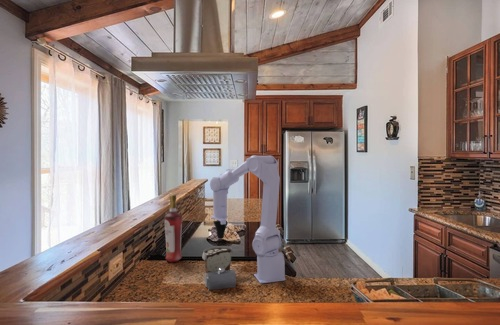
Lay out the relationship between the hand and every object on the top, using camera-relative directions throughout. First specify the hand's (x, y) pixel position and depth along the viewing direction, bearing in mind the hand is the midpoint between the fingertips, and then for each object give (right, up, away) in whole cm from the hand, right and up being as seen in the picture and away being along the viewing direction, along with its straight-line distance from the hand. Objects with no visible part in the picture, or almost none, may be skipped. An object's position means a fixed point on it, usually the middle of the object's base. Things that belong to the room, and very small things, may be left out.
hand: (220, 238), depth 122 cm
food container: (-1, -10, -15) cm, 18 cm away
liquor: (-20, -10, +3) cm, 23 cm away
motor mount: (+2, -10, -22) cm, 24 cm away
